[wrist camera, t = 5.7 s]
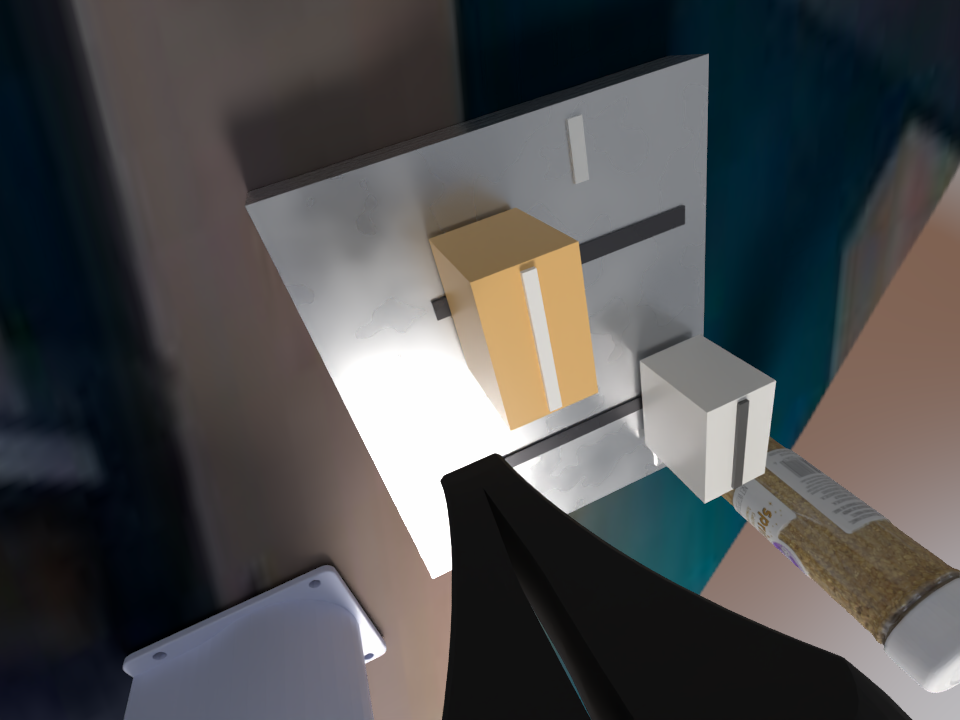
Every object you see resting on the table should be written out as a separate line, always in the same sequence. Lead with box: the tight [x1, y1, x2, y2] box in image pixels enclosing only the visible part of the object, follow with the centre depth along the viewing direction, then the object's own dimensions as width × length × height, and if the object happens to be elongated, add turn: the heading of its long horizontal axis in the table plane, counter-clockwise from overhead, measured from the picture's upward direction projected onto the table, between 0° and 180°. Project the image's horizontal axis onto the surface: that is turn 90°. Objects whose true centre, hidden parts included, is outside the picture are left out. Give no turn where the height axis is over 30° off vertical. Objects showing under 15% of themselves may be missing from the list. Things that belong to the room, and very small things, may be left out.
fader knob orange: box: [429, 208, 598, 431], centre depth 15 cm, size 3×5×4 cm, turn 14°
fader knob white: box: [640, 334, 776, 503], centre depth 21 cm, size 3×5×4 cm, turn 14°
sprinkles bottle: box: [722, 436, 960, 693], centre depth 24 cm, size 5×5×14 cm
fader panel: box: [245, 54, 709, 578], centre depth 20 cm, size 15×18×2 cm
